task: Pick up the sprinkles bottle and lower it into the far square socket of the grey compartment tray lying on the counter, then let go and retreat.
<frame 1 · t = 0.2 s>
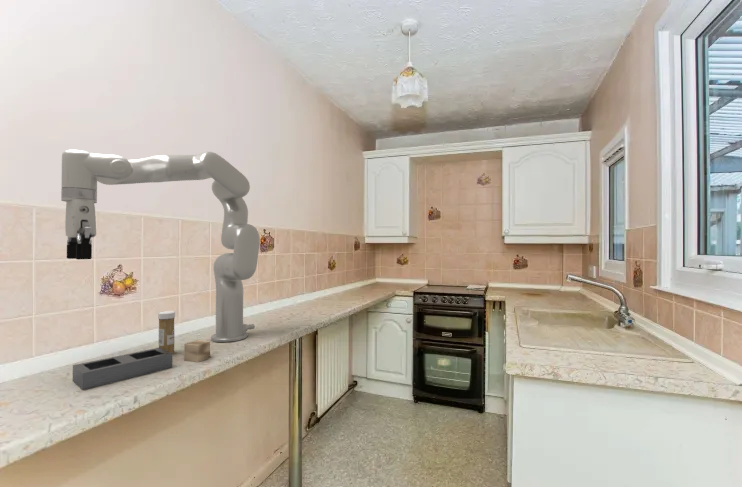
hand: (78, 258, 96), 31 cm above the countertop, tool pointing down, fingers open, 9 cm apart
sprinkles bottle: (166, 355, 110), on the countertop
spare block: (197, 359, 106), on the countertop
grey compartment tray: (125, 373, 93), on the countertop
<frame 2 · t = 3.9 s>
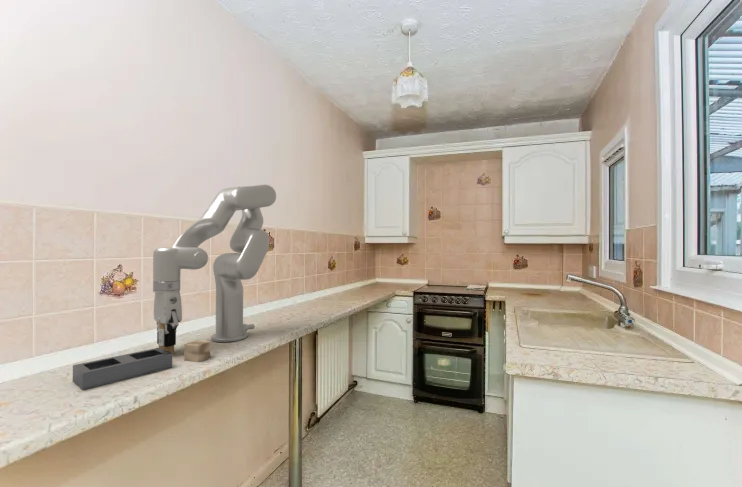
hand: (166, 343, 110), 3 cm above the countertop, tool pointing down, fingers closed on sprinkles bottle, 4 cm apart
sprinkles bottle: (166, 355, 110), on the countertop, touching gripper
everything else where it was.
when the fingers open (5 cm above the countertop, at t = 10.2 s): sprinkles bottle drops 1 cm, resting in grey compartment tray.
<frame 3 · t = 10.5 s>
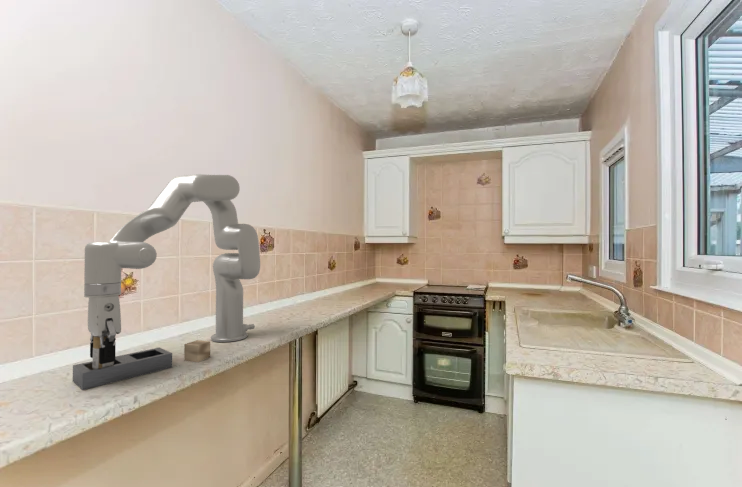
hand: (102, 358, 89), 5 cm above the countertop, tool pointing down, fingers open, 7 cm apart
sprinkles bottle: (102, 379, 90), resting in grey compartment tray
everything else where it was.
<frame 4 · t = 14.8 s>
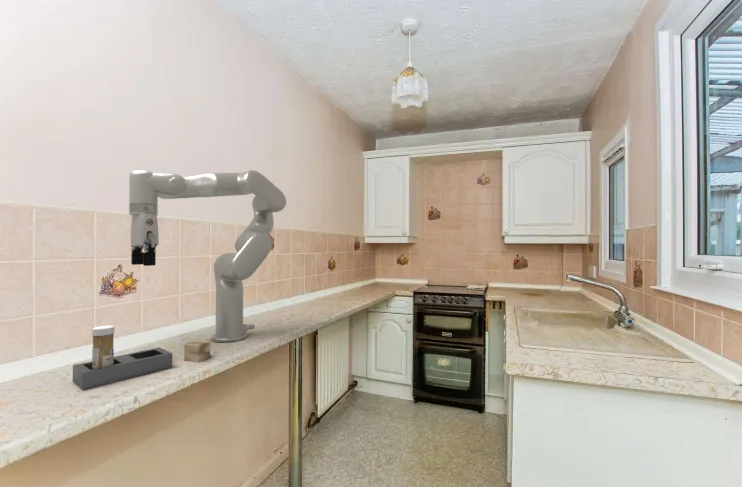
hand: (143, 265, 110), 28 cm above the countertop, tool pointing down, fingers open, 9 cm apart
nothing on the countertop moved.
at the end: sprinkles bottle 0.2 cm from the target spot on the grey compartment tray, point 0.0 cm above the grey compartment tray's base; sprinkles bottle tilted 0°; the gripper is holding nothing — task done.
